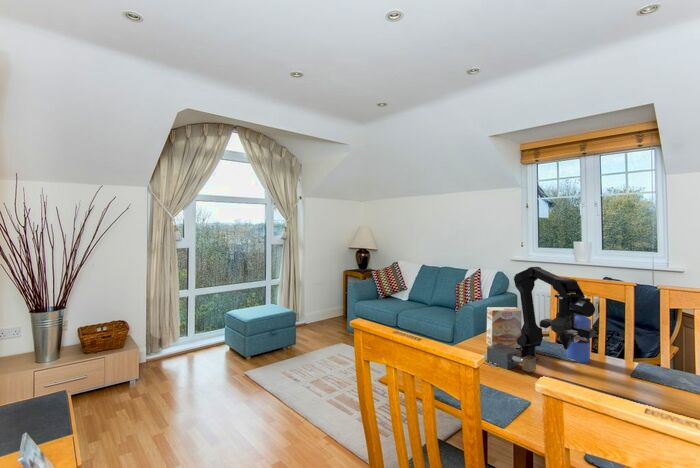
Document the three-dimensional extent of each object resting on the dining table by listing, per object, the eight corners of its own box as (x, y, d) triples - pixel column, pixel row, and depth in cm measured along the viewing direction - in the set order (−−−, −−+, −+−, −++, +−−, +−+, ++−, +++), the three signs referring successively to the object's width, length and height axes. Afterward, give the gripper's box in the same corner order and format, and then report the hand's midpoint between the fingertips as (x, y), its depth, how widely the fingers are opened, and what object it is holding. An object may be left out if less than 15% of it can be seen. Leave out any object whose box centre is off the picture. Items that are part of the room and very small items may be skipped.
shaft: (497, 355, 161) (497, 345, 161) (536, 369, 146) (536, 357, 145) (490, 358, 158) (490, 347, 158) (529, 372, 143) (529, 360, 143)
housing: (499, 357, 162) (499, 343, 162) (519, 364, 154) (519, 349, 154) (486, 361, 157) (487, 346, 157) (507, 369, 149) (507, 353, 149)
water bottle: (565, 354, 166) (566, 302, 166) (589, 358, 162) (590, 304, 161) (566, 361, 158) (567, 306, 158) (591, 365, 154) (592, 308, 153)
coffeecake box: (491, 349, 174) (492, 310, 173) (486, 344, 181) (486, 306, 180) (521, 348, 174) (522, 310, 173) (514, 343, 181) (515, 306, 181)
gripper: (532, 308, 143) (532, 346, 143) (582, 318, 127) (582, 361, 128) (547, 305, 149) (546, 341, 149) (596, 314, 133) (596, 354, 134)
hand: (566, 349), depth 140 cm, fingers closed
